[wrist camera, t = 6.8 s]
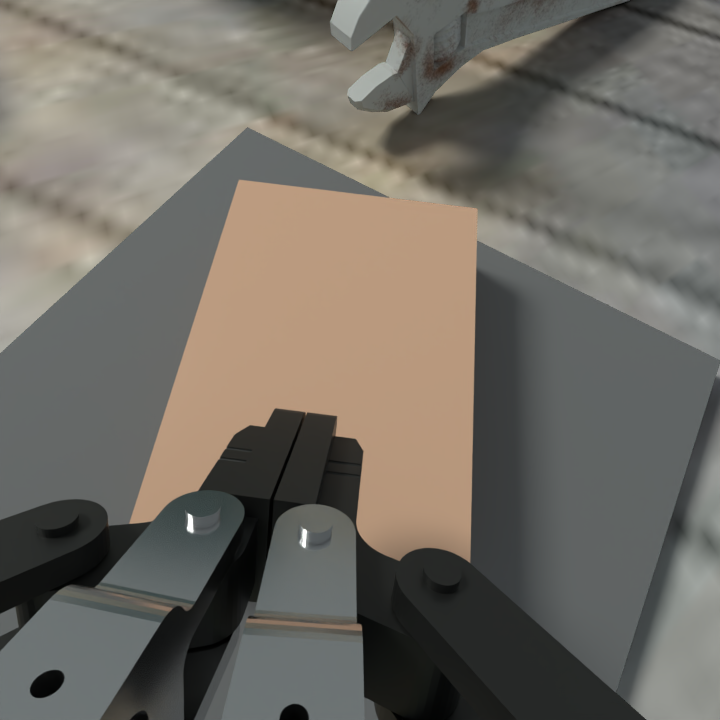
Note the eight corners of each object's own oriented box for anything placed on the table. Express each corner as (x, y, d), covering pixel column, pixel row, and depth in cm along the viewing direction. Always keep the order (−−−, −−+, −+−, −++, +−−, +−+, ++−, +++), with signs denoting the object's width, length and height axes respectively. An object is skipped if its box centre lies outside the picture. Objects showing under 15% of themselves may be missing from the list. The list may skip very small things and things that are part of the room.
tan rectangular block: (469, 577, 14) (477, 208, 20) (126, 530, 14) (239, 179, 20) (446, 579, 17) (458, 259, 23) (165, 541, 17) (252, 234, 23)
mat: (-147, 515, 18) (-173, 511, 17) (250, 142, 27) (247, 127, 26) (476, 1064, 13) (487, 1100, 12) (704, 370, 22) (720, 360, 21)
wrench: (633, 31, 38) (340, 150, 26) (615, 20, 39) (320, 131, 27) (708, -101, 31) (359, -22, 19) (685, -112, 32) (332, -42, 20)
